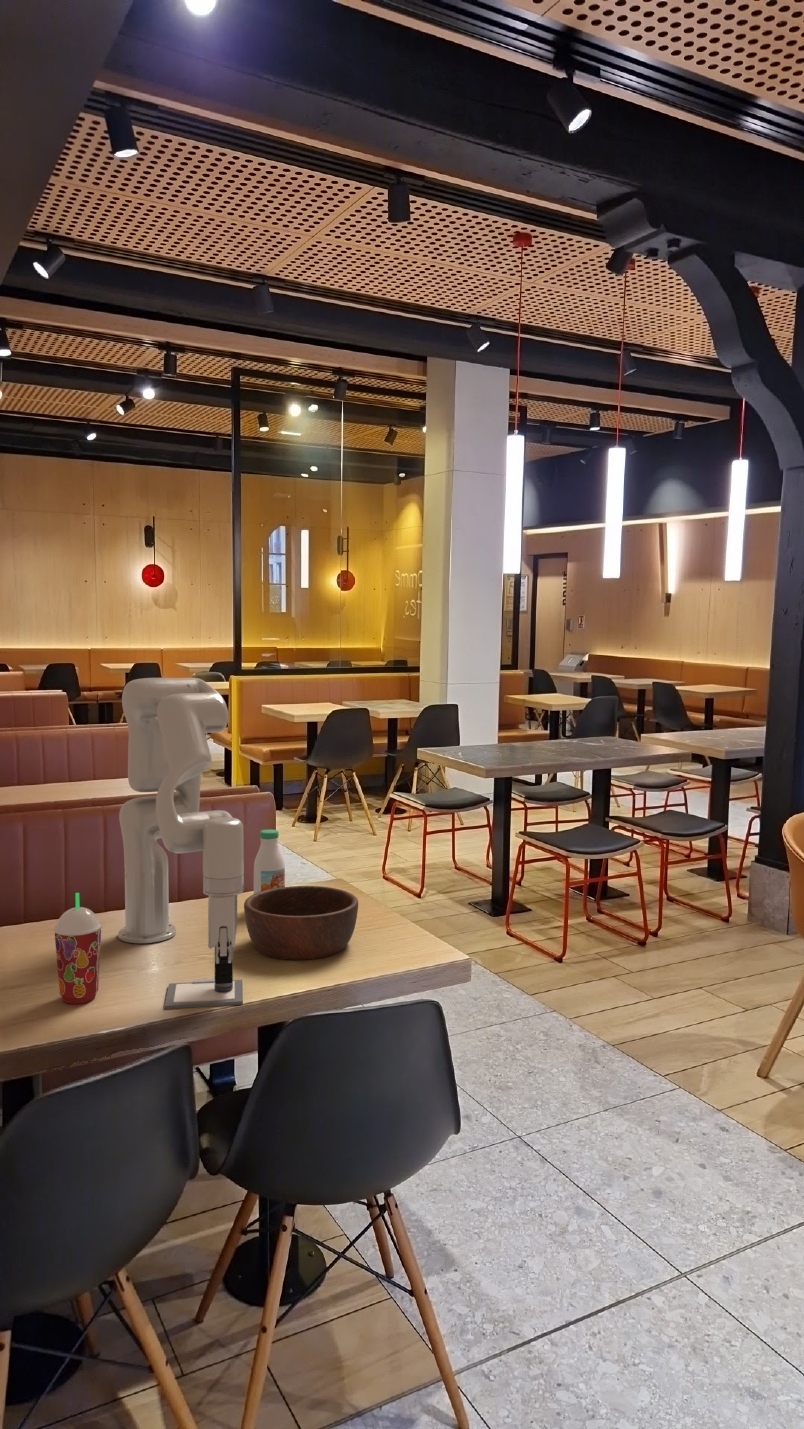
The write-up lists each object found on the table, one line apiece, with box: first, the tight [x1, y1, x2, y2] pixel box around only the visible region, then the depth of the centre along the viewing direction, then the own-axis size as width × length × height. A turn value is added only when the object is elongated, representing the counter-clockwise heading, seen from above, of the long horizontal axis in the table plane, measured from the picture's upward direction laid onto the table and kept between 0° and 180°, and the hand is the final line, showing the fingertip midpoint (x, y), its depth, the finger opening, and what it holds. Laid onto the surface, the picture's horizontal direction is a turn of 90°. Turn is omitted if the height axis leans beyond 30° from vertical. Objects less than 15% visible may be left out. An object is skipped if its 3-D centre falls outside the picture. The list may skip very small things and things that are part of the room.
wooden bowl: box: [243, 885, 359, 961], centre depth 201 cm, size 25×25×10 cm
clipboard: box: [164, 977, 244, 1010], centre depth 172 cm, size 11×14×1 cm
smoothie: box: [53, 892, 103, 1005], centre depth 170 cm, size 8×8×20 cm
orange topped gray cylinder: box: [214, 943, 234, 992], centre depth 173 cm, size 4×4×11 cm
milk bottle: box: [253, 829, 286, 894], centre depth 227 cm, size 8×8×20 cm
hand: (223, 978), depth 173 cm, fingers closed on orange topped gray cylinder, 3 cm apart
